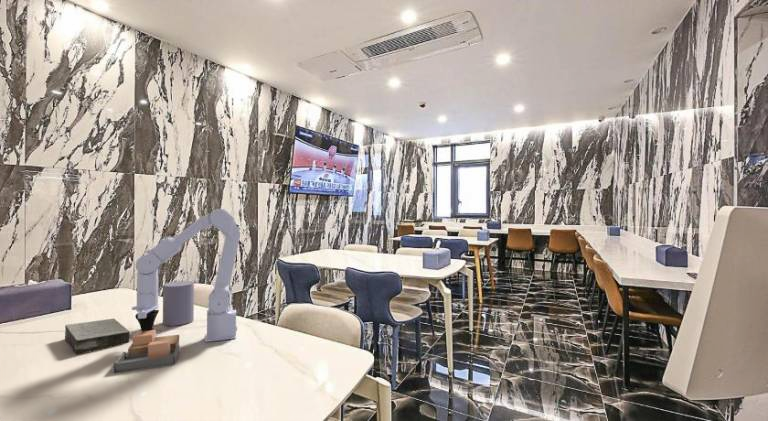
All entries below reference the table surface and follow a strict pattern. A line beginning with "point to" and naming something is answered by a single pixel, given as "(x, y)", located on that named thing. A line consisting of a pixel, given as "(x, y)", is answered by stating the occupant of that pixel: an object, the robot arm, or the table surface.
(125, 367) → the tray
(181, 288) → the container
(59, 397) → the table surface
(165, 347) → the tile
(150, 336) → the tile
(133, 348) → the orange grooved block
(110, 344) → the stone block
